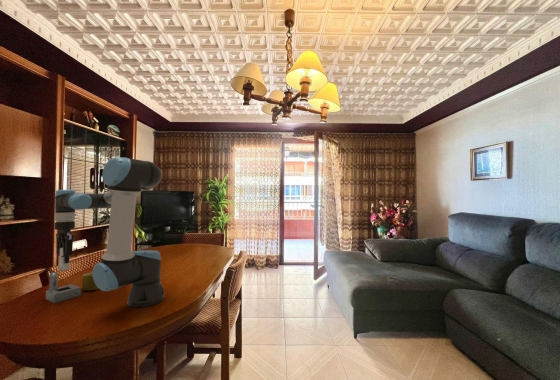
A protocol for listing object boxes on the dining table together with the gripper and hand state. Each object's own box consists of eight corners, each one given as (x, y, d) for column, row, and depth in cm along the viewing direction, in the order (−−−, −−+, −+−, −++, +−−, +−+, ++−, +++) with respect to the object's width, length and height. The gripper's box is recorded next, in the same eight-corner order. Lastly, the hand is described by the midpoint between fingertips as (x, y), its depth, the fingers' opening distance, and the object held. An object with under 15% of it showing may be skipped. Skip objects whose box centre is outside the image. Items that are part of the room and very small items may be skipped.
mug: (92, 290, 122) (91, 269, 125) (76, 295, 124) (76, 275, 127) (114, 286, 134) (113, 268, 137) (99, 291, 136) (98, 272, 139)
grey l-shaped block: (80, 295, 120) (81, 275, 120) (54, 303, 111) (54, 281, 112) (64, 289, 129) (64, 270, 130) (39, 295, 120) (39, 275, 121)
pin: (69, 269, 119) (69, 247, 120) (60, 271, 116) (61, 248, 117) (66, 268, 121) (66, 246, 121) (58, 270, 118) (58, 247, 118)
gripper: (81, 221, 119) (80, 269, 118) (67, 219, 127) (66, 265, 126) (62, 222, 112) (61, 273, 111) (48, 221, 120) (47, 268, 119)
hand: (63, 269), depth 119 cm, fingers closed on pin, 3 cm apart
